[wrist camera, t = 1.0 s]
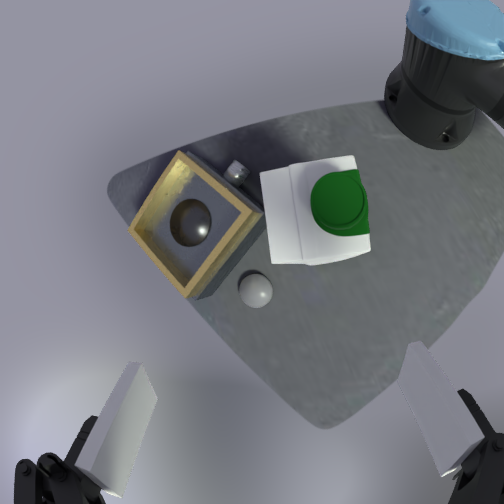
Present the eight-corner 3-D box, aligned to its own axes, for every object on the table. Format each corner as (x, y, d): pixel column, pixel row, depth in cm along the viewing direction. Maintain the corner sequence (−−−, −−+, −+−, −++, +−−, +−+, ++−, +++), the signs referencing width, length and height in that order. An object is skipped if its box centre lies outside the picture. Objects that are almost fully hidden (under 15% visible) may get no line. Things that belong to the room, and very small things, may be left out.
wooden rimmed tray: (215, 144, 43) (191, 128, 36) (288, 200, 39) (274, 190, 32) (153, 232, 48) (124, 230, 41) (211, 295, 44) (185, 303, 37)
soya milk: (364, 253, 35) (382, 259, 17) (302, 261, 39) (254, 275, 20) (355, 191, 36) (358, 135, 17) (293, 201, 39) (240, 159, 20)
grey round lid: (256, 266, 41) (253, 267, 40) (280, 289, 40) (278, 290, 39) (236, 290, 42) (233, 291, 41) (259, 312, 41) (256, 314, 40)
